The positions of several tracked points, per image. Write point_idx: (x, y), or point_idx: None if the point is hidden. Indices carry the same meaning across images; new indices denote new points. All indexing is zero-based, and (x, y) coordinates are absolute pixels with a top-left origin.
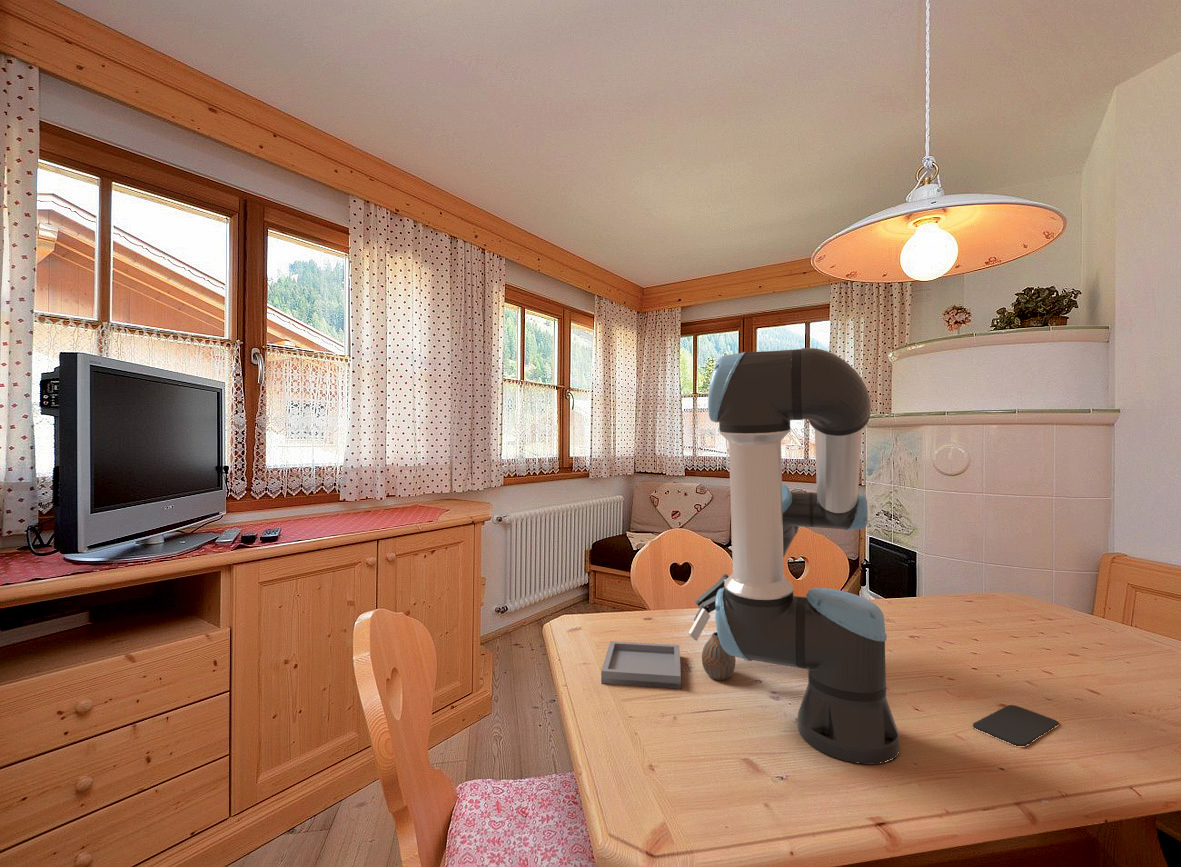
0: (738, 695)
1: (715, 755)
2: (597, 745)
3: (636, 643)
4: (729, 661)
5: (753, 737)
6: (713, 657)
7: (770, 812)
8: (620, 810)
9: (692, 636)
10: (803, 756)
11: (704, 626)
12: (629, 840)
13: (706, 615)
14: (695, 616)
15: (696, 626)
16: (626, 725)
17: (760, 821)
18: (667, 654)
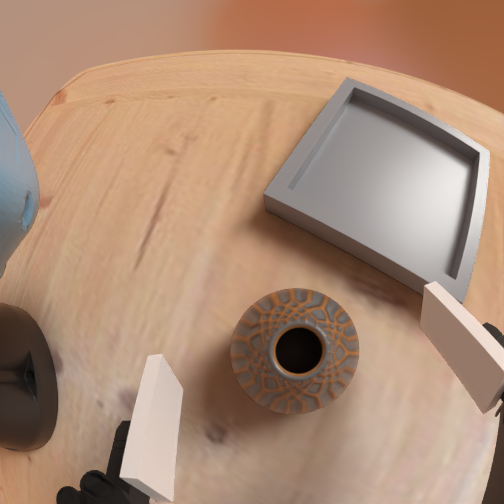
0: (173, 327)
1: (74, 169)
2: (177, 64)
3: (482, 194)
4: (230, 355)
5: (63, 243)
6: (258, 300)
7: None
8: (93, 78)
9: (425, 301)
10: (15, 278)
11: (453, 370)
12: (73, 82)
13: (484, 386)
14: (501, 334)
15: (447, 316)
16: (194, 90)
17: None
18: (443, 262)
